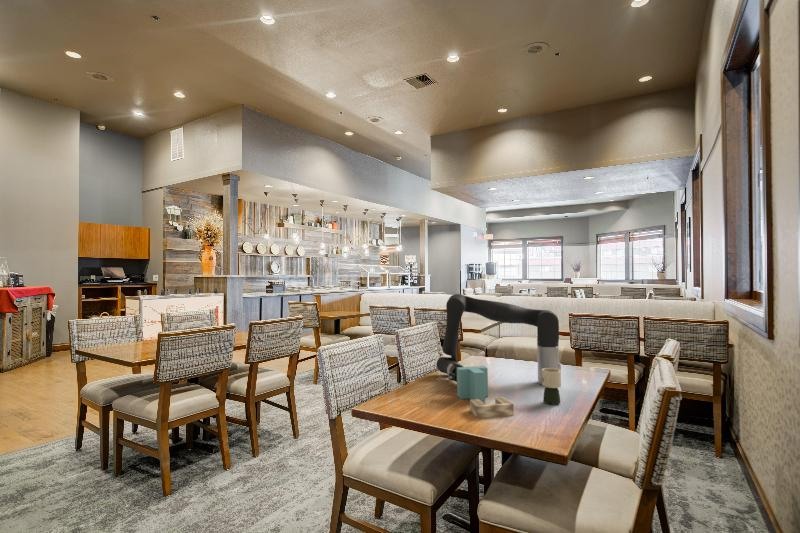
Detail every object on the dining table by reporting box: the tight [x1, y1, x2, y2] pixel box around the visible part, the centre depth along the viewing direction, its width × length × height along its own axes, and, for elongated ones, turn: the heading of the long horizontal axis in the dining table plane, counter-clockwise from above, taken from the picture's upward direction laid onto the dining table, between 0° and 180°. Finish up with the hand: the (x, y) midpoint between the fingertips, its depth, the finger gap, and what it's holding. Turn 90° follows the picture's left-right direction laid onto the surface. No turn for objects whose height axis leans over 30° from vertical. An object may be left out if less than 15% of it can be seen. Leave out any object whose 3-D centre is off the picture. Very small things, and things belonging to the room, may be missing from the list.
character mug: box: [541, 368, 562, 405], centre depth 166 cm, size 11×7×13 cm, turn 145°
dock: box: [469, 396, 515, 419], centre depth 156 cm, size 14×8×4 cm, turn 100°
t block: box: [456, 365, 489, 404], centre depth 173 cm, size 12×11×12 cm
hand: (468, 381), depth 178 cm, fingers closed
